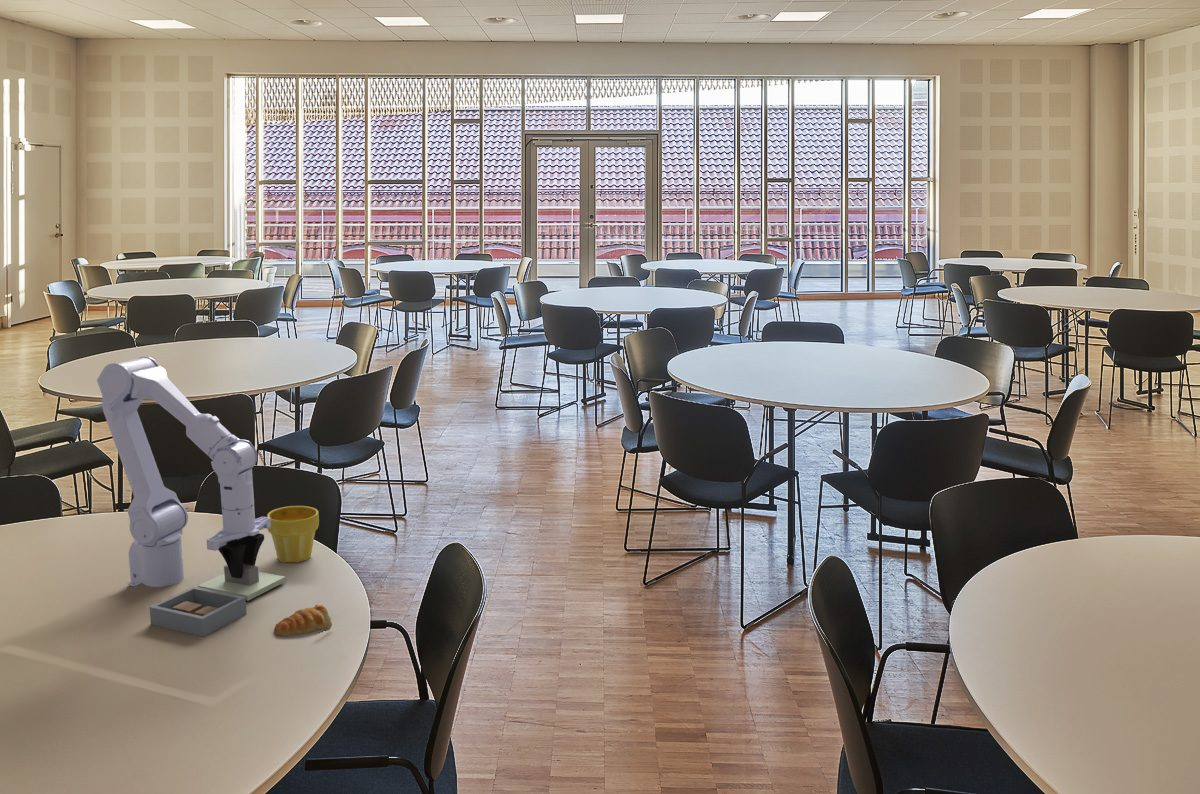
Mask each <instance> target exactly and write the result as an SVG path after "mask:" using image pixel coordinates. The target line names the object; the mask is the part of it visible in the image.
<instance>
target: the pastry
mask: <svg viewBox="0 0 1200 794" xmlns="http://www.w3.org/2000/svg"><path fill="white" fill-rule="evenodd" d="M274 626H275V627H274V629H273V633H274V634H275V635H277V636H281V637H289V636H295V635H296V636H297V635H303V634H307V633H309V634H310V633H312V632H314V631H317V630H320V631H319V632H318V634H320V632H321V633H324V632H323V631H325V632H326V631H330V630H331V628H332V627H333V622H332V618H331V616H330V615H329V612H328V609H327V608H326V607H325V606H324V605H323V604H315V605H314V607H306V608H303V609H297V610H296V611H294V613H293V614H290V615H289V616H287V617H285V618H283V619H281V620H280V621H279V622H278V623H276V624H275V625H274ZM321 629H322V630H321Z"/></svg>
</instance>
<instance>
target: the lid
mask: <svg viewBox="0 0 1200 794" xmlns="http://www.w3.org/2000/svg"><path fill="white" fill-rule="evenodd" d="M223 572H224V573H223V574H220V575H218V576H216V577H213V578H212V579H209V580H207V581H205V582H203V583H200V584H198V585H197V587H199V588H204V589H208V590H213V591H218V592H223V593H227V594H232V595H237V596H242V597H245V601H251V600H253V599H254V598H256V597H258V596H260V595H262V594H265V593H266V592H268V591H270V590H272V589H273V588H275V587H278V586H280V585H281V584H283V583H285V582H286V576H283V575H278V574H273V573H268V572H267V573H266V572H262V571H259V566H258V565H255V566H254V565H248V564H243V575H242V578H234V577H231V574H230V571H229V568H228V566H227V564H225V565H223Z"/></svg>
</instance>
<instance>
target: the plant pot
mask: <svg viewBox="0 0 1200 794" xmlns="http://www.w3.org/2000/svg"><path fill="white" fill-rule="evenodd" d="M266 517H268V518H270V520H271V527H270V528H267V531H268V533H269V534H271V537H272V541H273V545H274V549H275V553H276V557H277V559H278V561H279V562H282V563H285V562H288V563H287V564H292V563H291V562H296V563H299V562H298V561H302V562H304V561H303V560H305V561H307V560H309V559H310V558H311V557H312V552H313V547H314V540H315V535H316V531H317V530H318V528H319V526H320V516H319V510H318V509H317V508H315V507H311V506H306V505H289V506H288V505H287V506H284V507H279V508H275V509H272V510H271V511H269V512H267V515H266ZM310 556H311V557H310ZM309 557H310V558H309ZM308 558H309V559H308ZM306 559H307V560H306ZM289 562H290V563H289Z"/></svg>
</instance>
